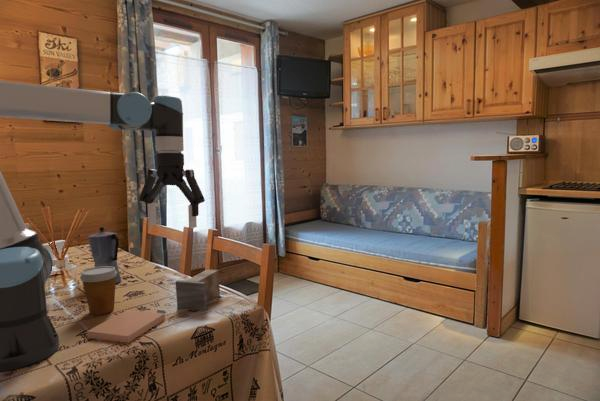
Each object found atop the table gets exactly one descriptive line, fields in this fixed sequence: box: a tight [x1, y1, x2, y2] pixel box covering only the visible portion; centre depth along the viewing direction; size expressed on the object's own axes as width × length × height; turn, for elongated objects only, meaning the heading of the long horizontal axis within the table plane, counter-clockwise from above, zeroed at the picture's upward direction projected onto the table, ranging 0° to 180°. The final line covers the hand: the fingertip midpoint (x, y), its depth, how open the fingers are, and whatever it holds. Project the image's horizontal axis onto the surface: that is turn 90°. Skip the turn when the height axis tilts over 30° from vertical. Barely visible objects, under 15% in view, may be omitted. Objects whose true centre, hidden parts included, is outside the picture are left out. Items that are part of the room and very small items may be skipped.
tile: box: [86, 309, 166, 344], centre depth 103 cm, size 2×12×14 cm
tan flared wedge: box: [175, 268, 221, 312], centre depth 120 cm, size 13×9×8 cm
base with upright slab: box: [42, 239, 70, 265], centre depth 157 cm, size 9×9×12 cm
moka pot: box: [87, 226, 122, 285], centre depth 141 cm, size 10×15×20 cm, turn 62°
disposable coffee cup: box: [79, 266, 117, 316], centre depth 115 cm, size 10×10×12 cm
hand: (172, 226), depth 116 cm, fingers open, 13 cm apart
